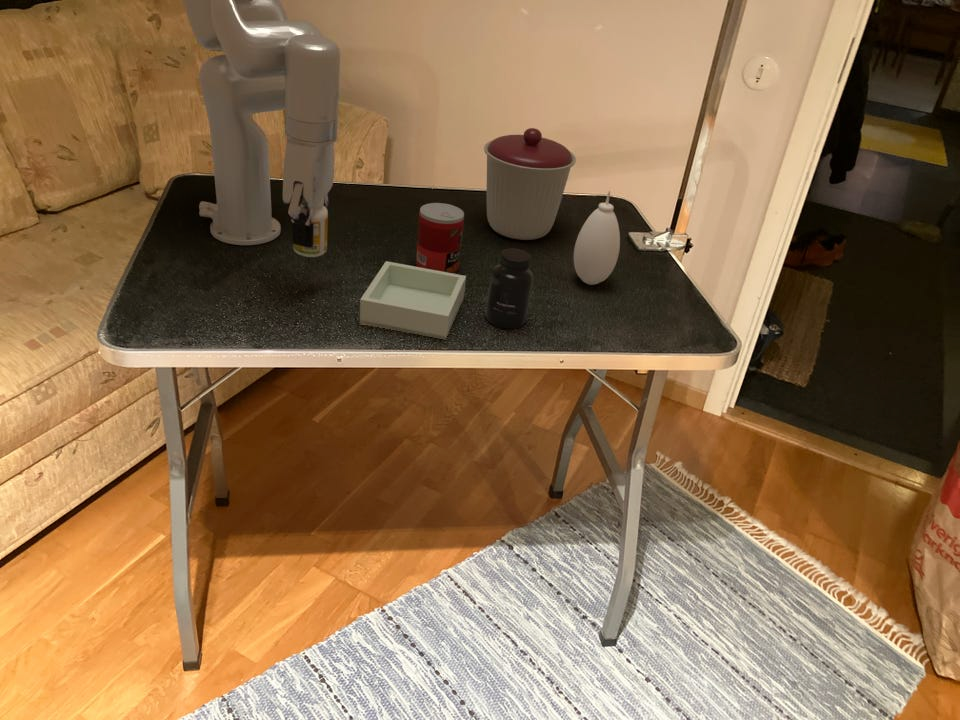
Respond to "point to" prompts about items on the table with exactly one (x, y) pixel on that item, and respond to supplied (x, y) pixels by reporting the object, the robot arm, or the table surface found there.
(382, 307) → the bin
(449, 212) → the canned food
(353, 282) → the table surface
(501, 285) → the supplement bottle
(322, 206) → the supplement bottle
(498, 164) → the canister
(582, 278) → the air blower bulb
